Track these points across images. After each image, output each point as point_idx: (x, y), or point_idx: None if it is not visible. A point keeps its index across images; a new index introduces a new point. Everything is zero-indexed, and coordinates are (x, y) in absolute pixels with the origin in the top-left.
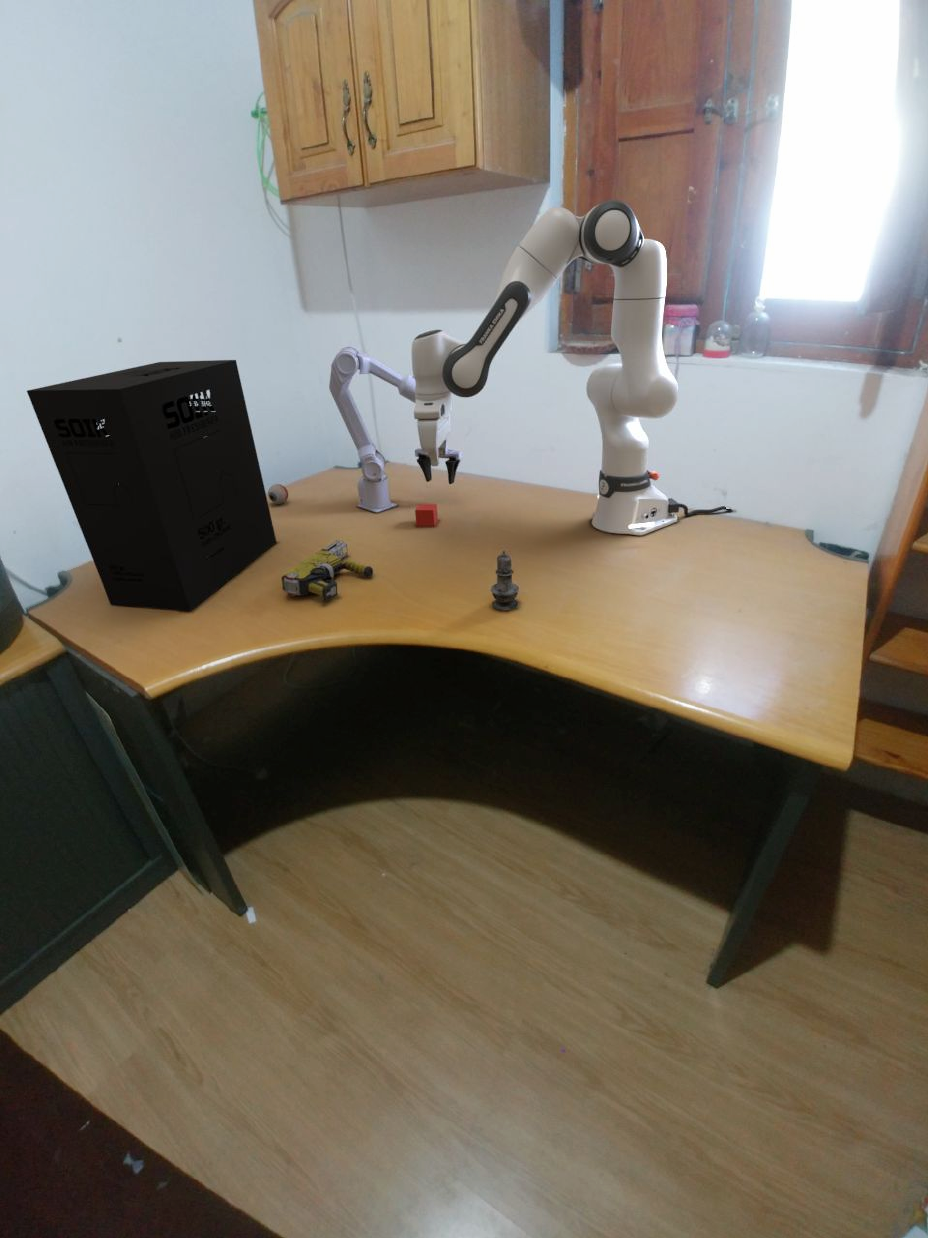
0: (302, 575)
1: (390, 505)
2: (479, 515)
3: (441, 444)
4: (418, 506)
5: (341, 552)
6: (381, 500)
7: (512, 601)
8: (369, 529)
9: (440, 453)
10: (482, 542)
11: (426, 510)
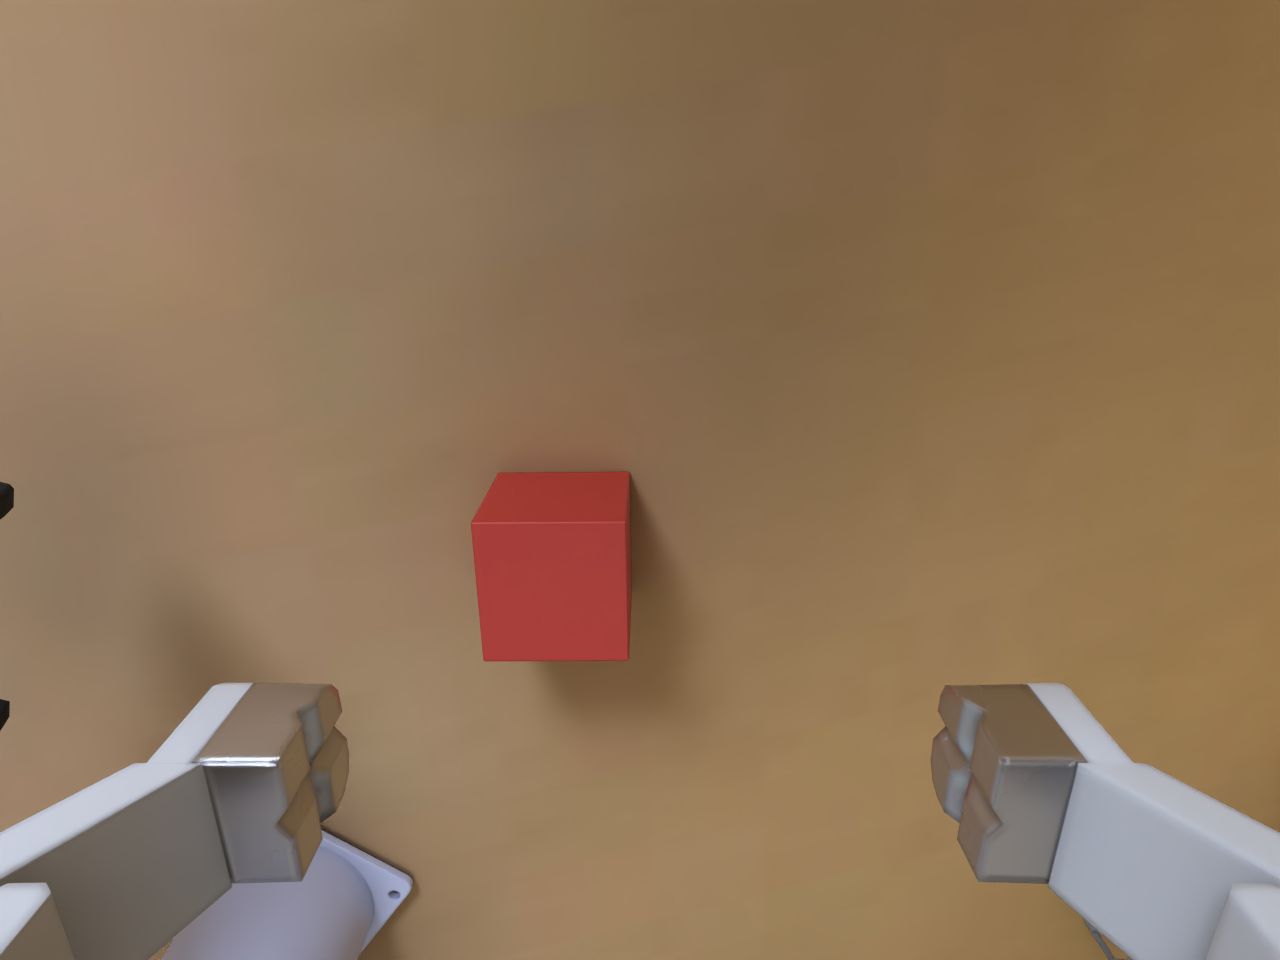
0: None
1: None
2: (344, 146)
3: (144, 899)
4: (544, 652)
5: None
6: (333, 914)
7: None
8: (689, 847)
9: (333, 779)
10: (957, 16)
11: (627, 573)
